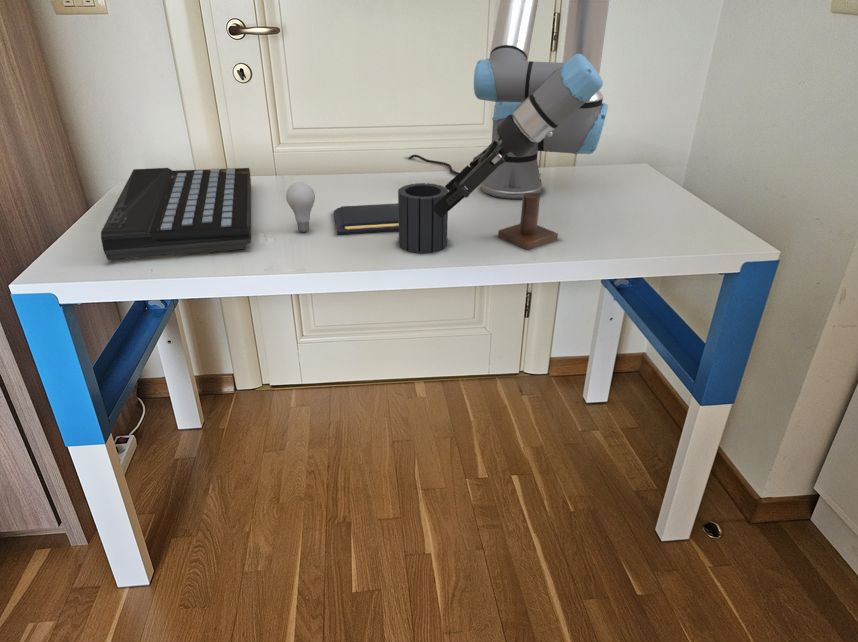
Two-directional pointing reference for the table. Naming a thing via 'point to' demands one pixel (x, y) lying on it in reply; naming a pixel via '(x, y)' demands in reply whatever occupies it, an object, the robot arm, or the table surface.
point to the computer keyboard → (179, 213)
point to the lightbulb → (301, 203)
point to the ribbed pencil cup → (421, 218)
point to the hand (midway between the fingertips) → (443, 201)
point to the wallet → (366, 219)
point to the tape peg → (528, 226)
